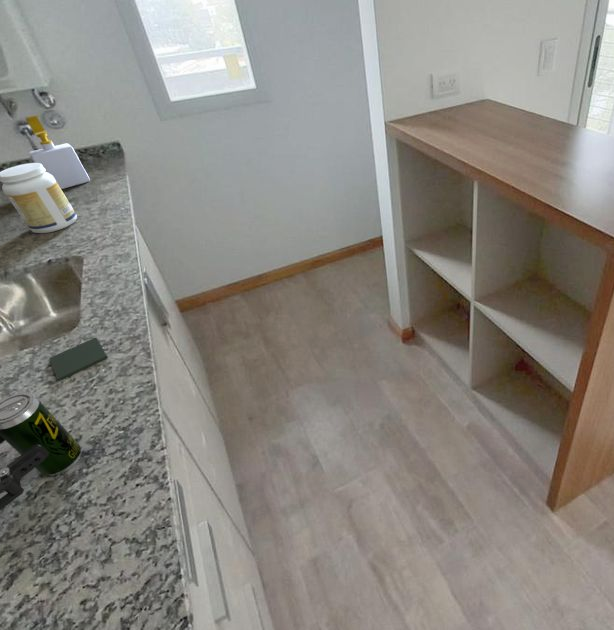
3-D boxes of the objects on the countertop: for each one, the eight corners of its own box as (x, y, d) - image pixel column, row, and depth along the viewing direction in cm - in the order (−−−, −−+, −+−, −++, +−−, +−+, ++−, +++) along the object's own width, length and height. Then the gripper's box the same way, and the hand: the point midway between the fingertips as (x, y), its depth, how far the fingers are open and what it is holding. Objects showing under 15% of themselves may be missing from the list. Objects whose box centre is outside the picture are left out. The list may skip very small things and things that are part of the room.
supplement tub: (66, 213, 138) (33, 159, 127) (86, 220, 133) (54, 164, 122) (23, 230, 130) (-16, 173, 119) (43, 238, 125) (4, 180, 114)
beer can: (41, 485, 61) (-18, 431, 54) (41, 458, 65) (-14, 404, 57) (85, 464, 63) (34, 410, 56) (82, 439, 67) (34, 385, 60)
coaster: (59, 381, 78) (57, 379, 77) (50, 359, 82) (48, 358, 82) (108, 357, 82) (106, 355, 81) (97, 338, 86) (96, 336, 86)
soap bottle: (53, 192, 154) (9, 121, 139) (49, 187, 158) (7, 118, 143) (91, 181, 160) (54, 112, 146) (87, 177, 164) (50, 110, 149)
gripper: (-133, 565, 43) (39, 438, 54) (-185, 507, 48) (-20, 402, 60) (-74, 595, 48) (73, 472, 59) (-128, 539, 53) (15, 436, 64)
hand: (26, 437), depth 59 cm, fingers open, 8 cm apart
